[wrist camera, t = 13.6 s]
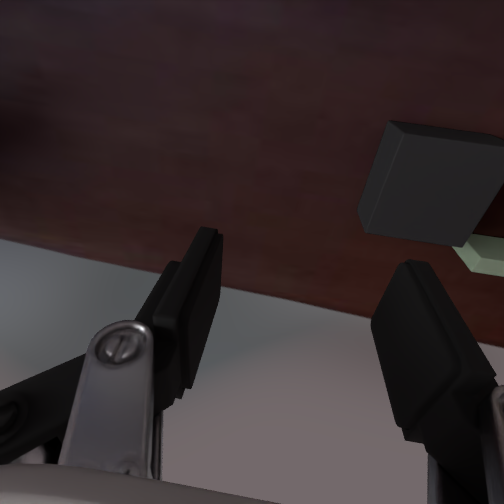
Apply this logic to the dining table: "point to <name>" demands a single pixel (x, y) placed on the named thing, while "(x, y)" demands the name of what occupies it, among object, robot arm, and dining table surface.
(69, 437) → the robot arm
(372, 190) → the dark grey square block
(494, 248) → the bracket
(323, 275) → the dining table surface
